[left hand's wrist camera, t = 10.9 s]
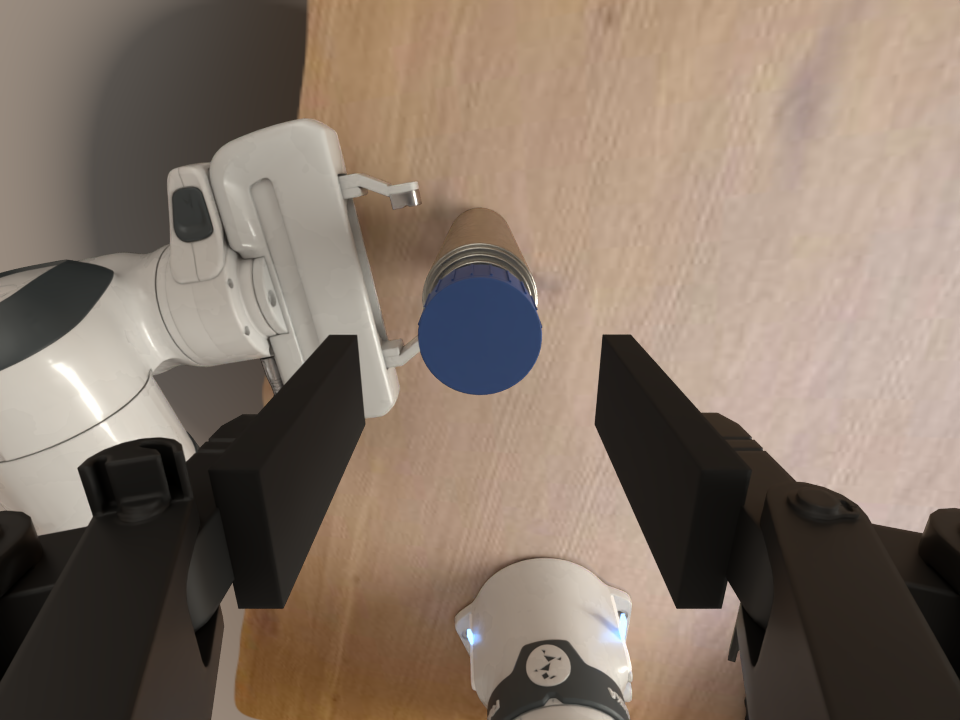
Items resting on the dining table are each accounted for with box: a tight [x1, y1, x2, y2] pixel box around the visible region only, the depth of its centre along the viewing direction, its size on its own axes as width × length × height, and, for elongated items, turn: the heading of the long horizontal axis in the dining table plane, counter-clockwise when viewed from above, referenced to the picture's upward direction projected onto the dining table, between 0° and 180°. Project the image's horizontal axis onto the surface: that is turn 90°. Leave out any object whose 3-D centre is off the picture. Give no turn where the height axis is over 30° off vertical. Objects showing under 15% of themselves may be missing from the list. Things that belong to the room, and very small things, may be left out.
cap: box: [418, 264, 542, 395], centre depth 19 cm, size 4×4×2 cm
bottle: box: [422, 208, 537, 310], centre depth 29 cm, size 5×5×24 cm
